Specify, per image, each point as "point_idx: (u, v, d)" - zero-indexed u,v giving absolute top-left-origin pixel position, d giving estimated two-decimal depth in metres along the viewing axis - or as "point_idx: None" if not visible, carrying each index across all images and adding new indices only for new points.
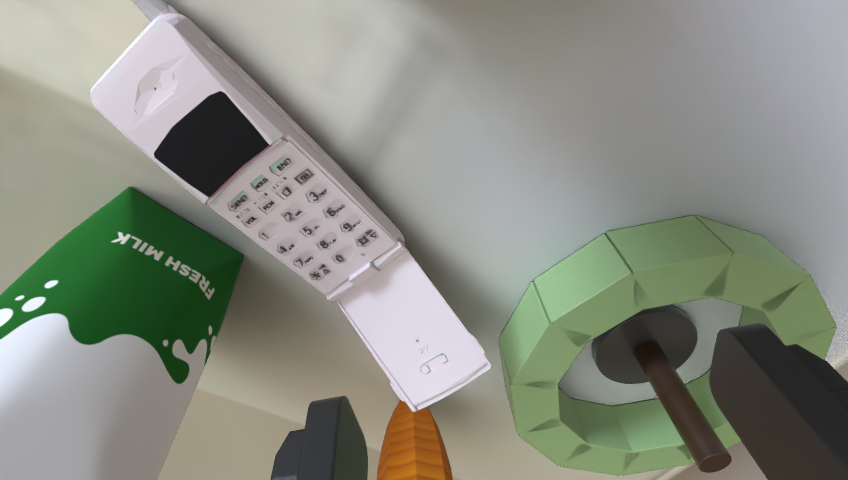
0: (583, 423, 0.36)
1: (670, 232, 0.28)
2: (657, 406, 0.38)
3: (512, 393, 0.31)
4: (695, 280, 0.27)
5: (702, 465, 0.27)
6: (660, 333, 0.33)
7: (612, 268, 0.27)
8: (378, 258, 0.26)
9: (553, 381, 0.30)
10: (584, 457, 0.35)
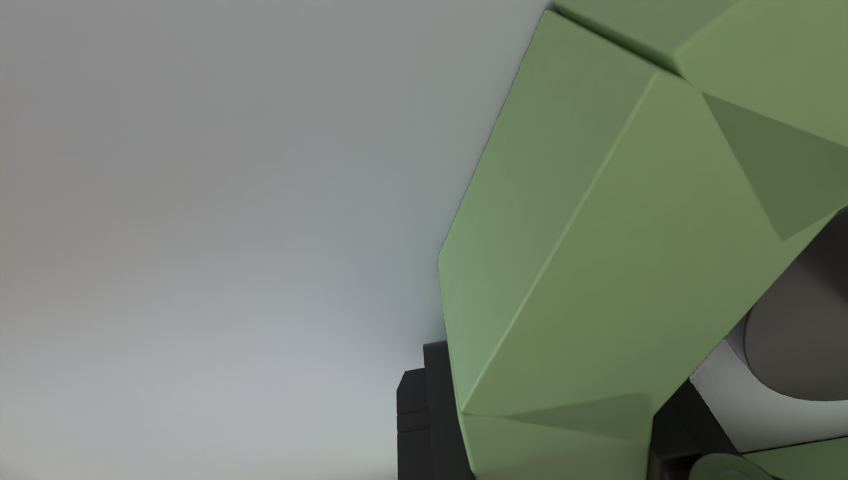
0: None
1: (511, 147, 0.08)
2: None
3: None
4: (679, 254, 0.06)
5: None
6: None
7: None
8: None
9: None
10: None
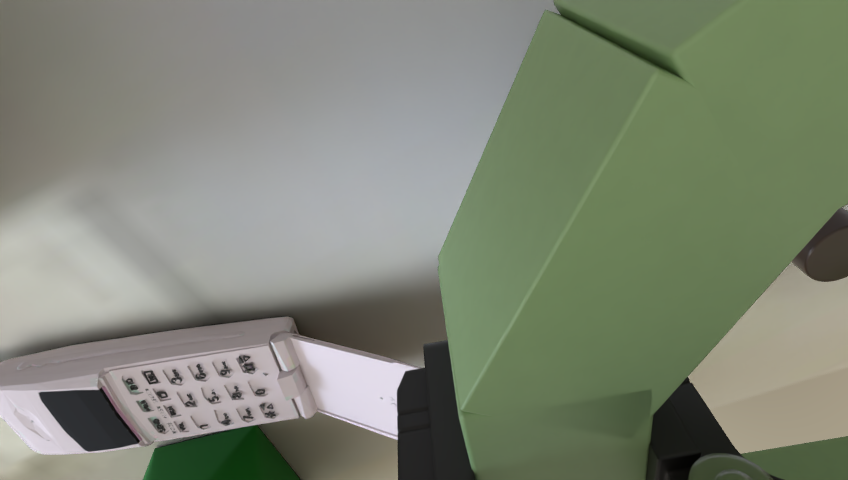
0: None
1: (511, 148, 0.08)
2: None
3: None
4: (678, 253, 0.06)
5: (822, 276, 0.13)
6: None
7: None
8: (279, 365, 0.24)
9: None
10: None
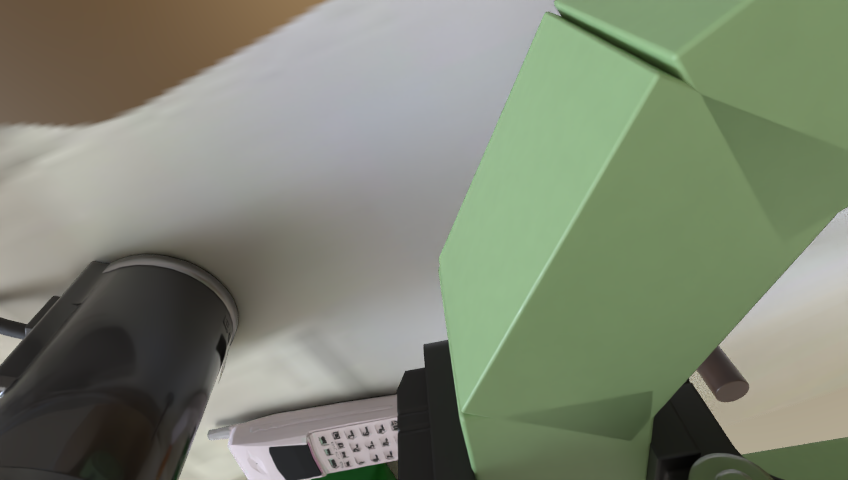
0: None
1: (512, 149, 0.08)
2: None
3: None
4: (679, 255, 0.06)
5: (724, 400, 0.27)
6: None
7: None
8: None
9: None
10: None
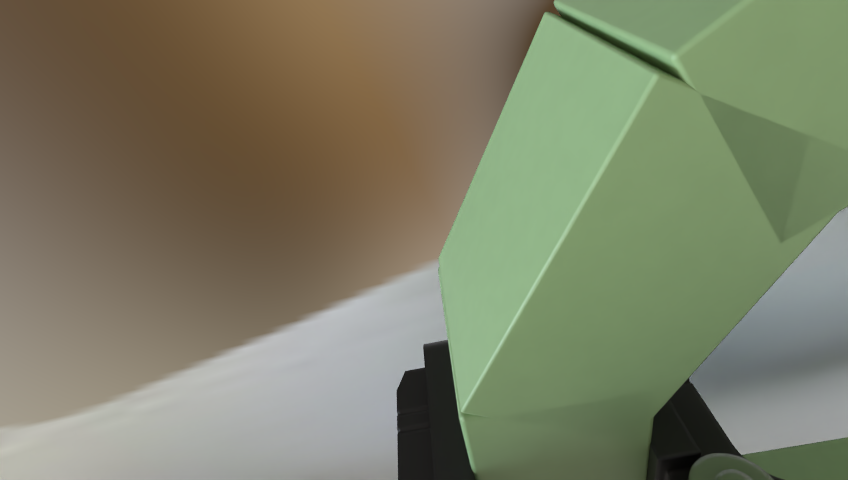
0: None
1: (512, 149, 0.08)
2: None
3: None
4: (679, 255, 0.06)
5: None
6: None
7: None
8: None
9: None
10: None
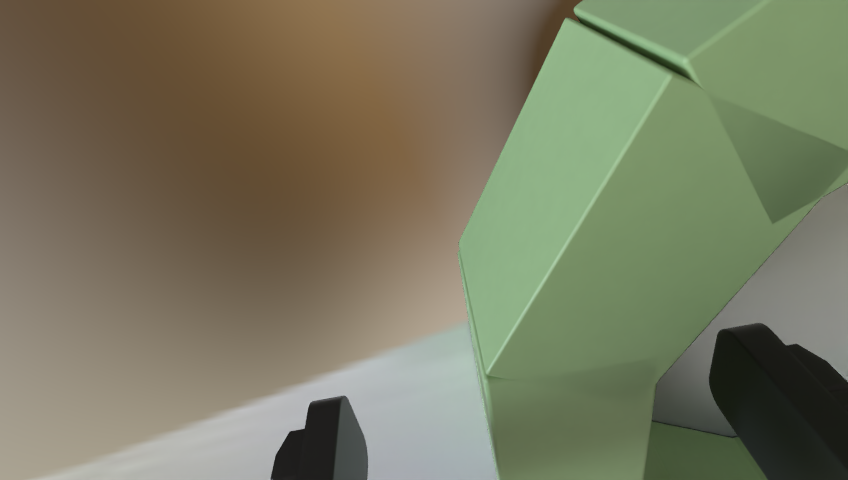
0: None
1: (534, 141, 0.09)
2: None
3: None
4: (684, 233, 0.07)
5: None
6: None
7: (479, 367, 0.09)
8: None
9: None
10: None
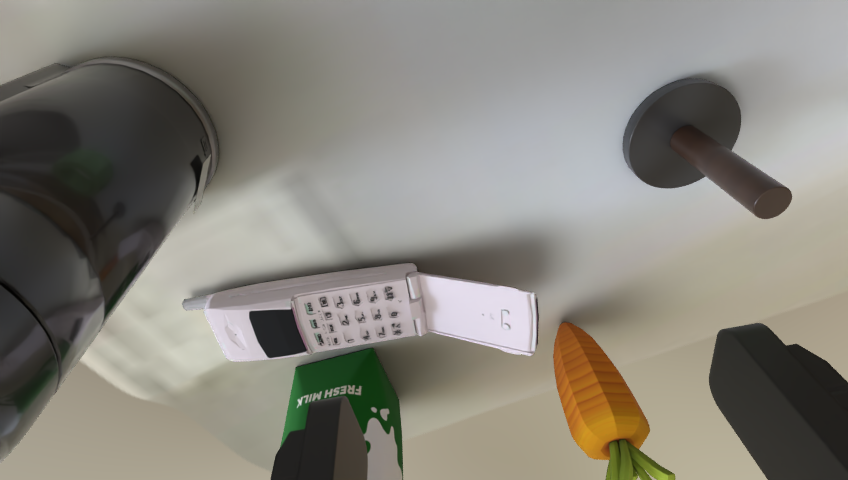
0: None
1: None
2: None
3: None
4: None
5: (763, 215, 0.24)
6: (673, 118, 0.30)
7: None
8: (410, 294, 0.34)
9: None
10: None
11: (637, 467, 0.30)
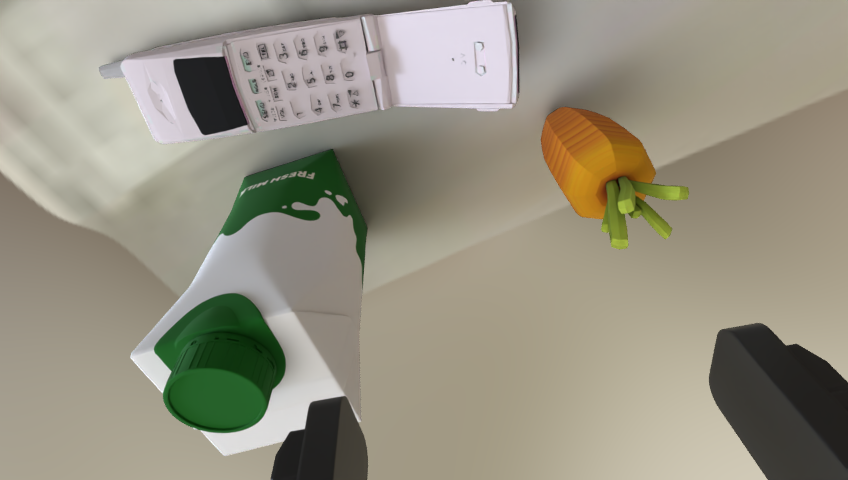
0: None
1: None
2: None
3: None
4: None
5: None
6: None
7: None
8: (367, 44, 0.29)
9: None
10: None
11: (641, 203, 0.24)
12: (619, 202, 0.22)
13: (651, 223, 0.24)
